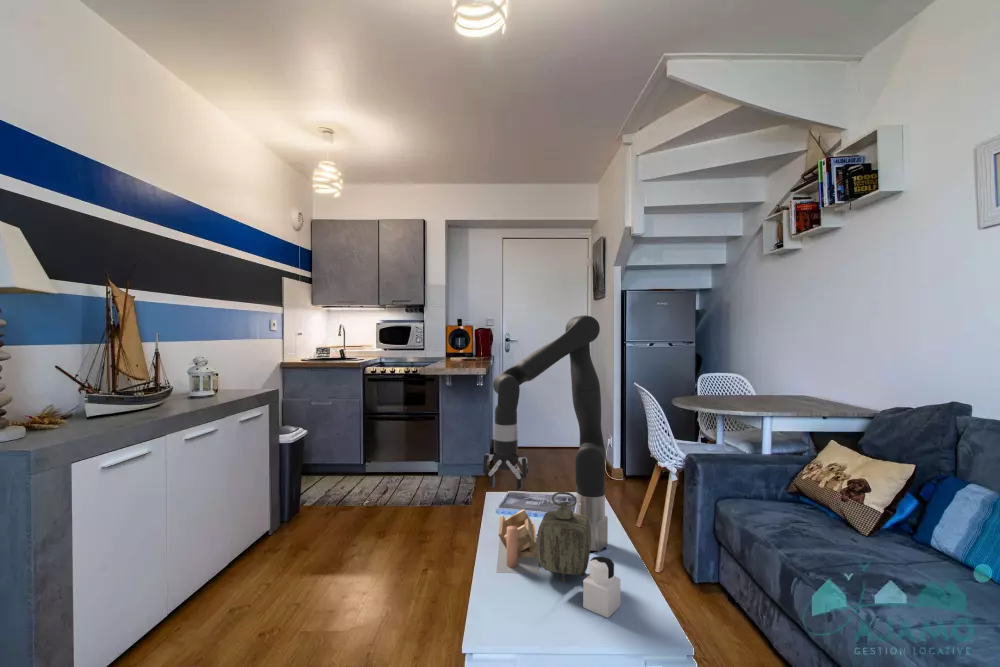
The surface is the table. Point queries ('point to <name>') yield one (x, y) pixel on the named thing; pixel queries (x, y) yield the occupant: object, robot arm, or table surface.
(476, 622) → the table surface
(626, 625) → the table surface
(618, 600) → the white blocky bust
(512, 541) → the peg
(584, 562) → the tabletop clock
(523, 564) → the board
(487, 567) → the table surface
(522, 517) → the socket
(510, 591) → the table surface
